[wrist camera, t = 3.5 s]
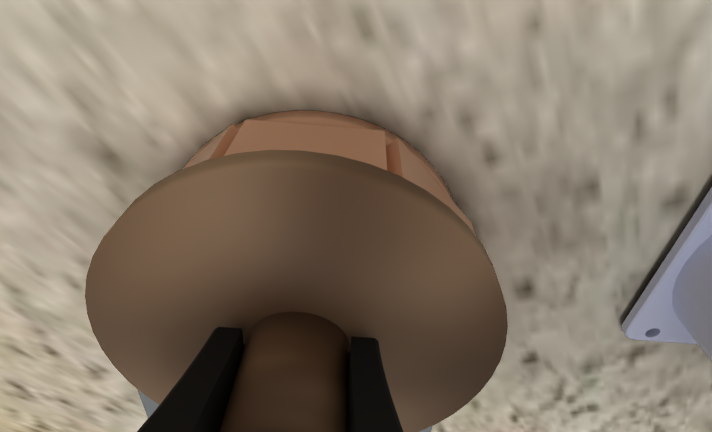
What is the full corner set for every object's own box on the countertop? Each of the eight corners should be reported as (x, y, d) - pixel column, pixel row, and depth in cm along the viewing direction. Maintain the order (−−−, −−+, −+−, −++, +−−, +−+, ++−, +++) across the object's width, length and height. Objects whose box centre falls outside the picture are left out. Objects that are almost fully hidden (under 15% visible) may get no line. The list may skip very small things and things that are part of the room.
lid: (559, 171, 9) (656, 303, 6) (453, 435, 16) (474, 566, 12) (40, 129, 9) (-135, 243, 6) (147, 415, 15) (91, 543, 12)
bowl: (492, 125, 12) (529, 189, 9) (431, 346, 18) (442, 427, 15) (142, 95, 12) (72, 152, 9) (193, 329, 18) (159, 408, 15)
